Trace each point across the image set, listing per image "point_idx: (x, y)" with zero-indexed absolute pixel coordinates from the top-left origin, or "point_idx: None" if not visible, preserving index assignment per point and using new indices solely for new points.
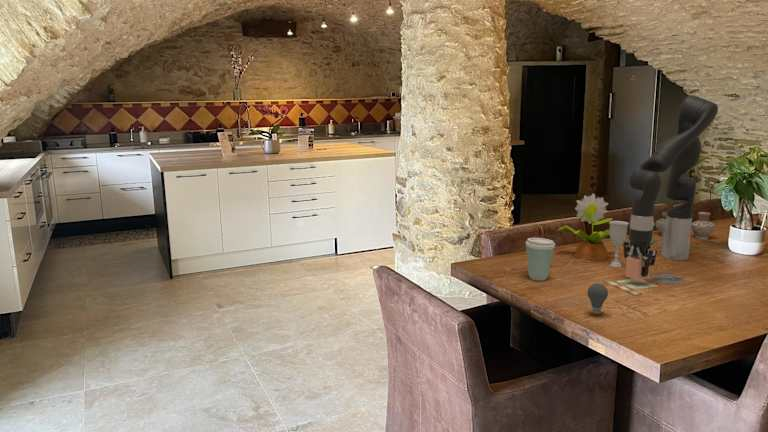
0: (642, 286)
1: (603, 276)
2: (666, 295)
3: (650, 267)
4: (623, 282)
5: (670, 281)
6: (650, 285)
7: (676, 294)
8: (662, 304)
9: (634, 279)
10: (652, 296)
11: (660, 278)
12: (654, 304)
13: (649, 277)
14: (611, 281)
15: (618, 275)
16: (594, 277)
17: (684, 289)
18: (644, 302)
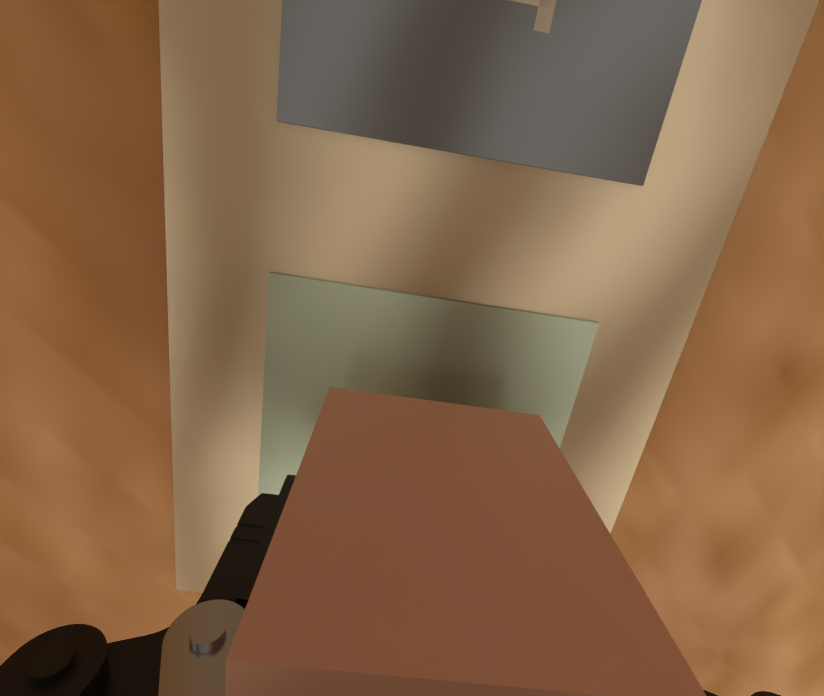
0: None
1: (43, 469)
2: (746, 419)
3: (602, 521)
4: None
5: (605, 7)
6: (534, 375)
7: (808, 318)
8: (806, 596)
9: (302, 355)
10: (669, 529)
11: (439, 11)
12: (761, 634)
13: (543, 425)
14: None
15: (56, 317)
16: (48, 551)
17: (819, 76)
18: (691, 654)
